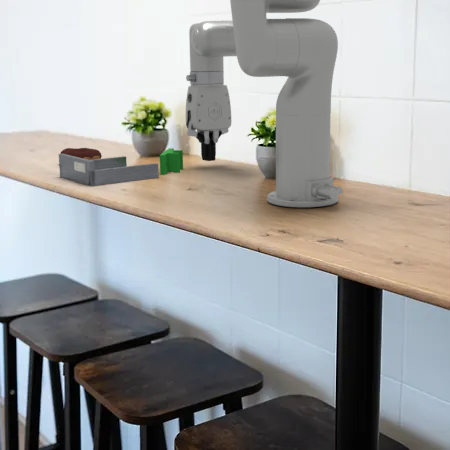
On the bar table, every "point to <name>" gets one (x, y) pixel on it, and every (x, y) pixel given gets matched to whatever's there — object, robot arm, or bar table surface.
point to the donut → (83, 153)
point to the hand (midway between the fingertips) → (208, 160)
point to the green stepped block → (171, 161)
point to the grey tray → (104, 170)
